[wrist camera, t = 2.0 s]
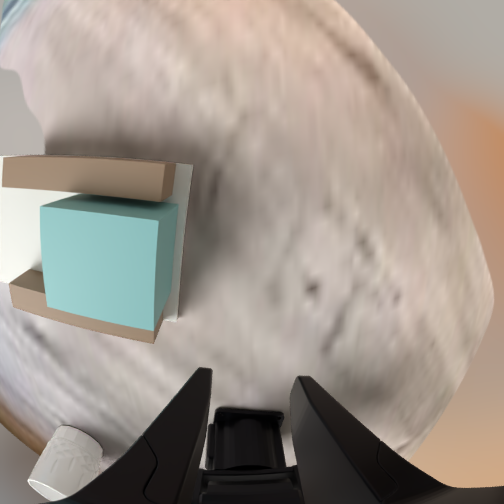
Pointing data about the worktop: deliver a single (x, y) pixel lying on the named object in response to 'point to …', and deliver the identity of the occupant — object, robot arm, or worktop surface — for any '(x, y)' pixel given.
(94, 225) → the block
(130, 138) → the worktop surface
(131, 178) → the chute
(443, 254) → the worktop surface
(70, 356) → the worktop surface
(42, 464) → the white cup
